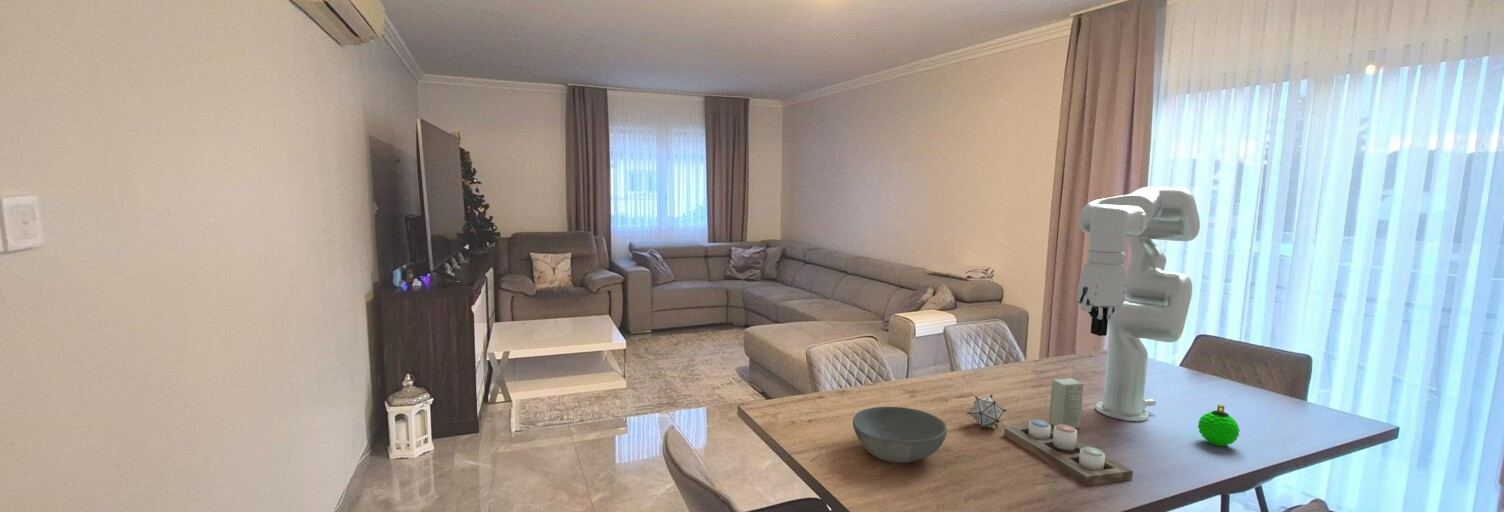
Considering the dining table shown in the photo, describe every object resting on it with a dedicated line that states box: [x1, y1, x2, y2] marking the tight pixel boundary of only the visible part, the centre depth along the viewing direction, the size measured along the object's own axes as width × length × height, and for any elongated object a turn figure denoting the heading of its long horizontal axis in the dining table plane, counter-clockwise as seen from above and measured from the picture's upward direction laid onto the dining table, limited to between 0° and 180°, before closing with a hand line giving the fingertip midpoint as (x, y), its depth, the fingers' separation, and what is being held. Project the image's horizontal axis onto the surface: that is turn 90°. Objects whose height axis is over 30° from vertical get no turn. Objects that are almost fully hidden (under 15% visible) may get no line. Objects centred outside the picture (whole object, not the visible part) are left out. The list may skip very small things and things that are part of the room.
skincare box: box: [1048, 377, 1084, 429], centre depth 159 cm, size 6×4×12 cm
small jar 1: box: [1028, 419, 1052, 440], centre depth 149 cm, size 5×5×4 cm
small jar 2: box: [1053, 424, 1078, 451], centre depth 141 cm, size 5×5×4 cm
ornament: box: [1197, 404, 1241, 447], centre depth 149 cm, size 8×8×10 cm
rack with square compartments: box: [1003, 424, 1134, 487], centre depth 141 cm, size 12×26×2 cm, turn 15°
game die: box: [966, 393, 1008, 431], centre depth 157 cm, size 9×8×10 cm
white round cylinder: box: [1079, 446, 1106, 471], centre depth 133 cm, size 5×5×4 cm
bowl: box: [852, 406, 948, 464], centre depth 139 cm, size 21×21×8 cm
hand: (1098, 334), depth 146 cm, fingers closed
